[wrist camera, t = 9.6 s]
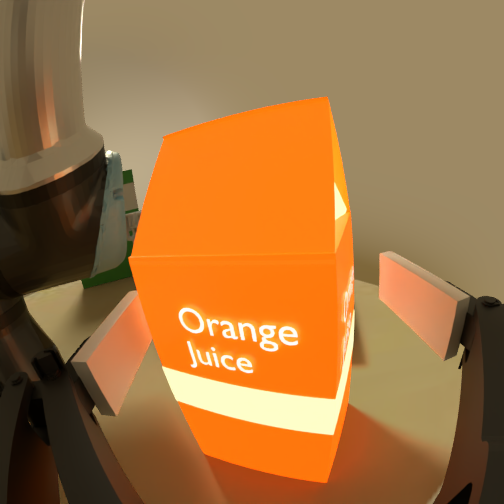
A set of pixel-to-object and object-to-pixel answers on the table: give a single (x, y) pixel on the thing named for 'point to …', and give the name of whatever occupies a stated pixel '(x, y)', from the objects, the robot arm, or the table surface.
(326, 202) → the juice carton
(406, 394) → the table surface
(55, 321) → the table surface
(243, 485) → the table surface
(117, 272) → the green box
